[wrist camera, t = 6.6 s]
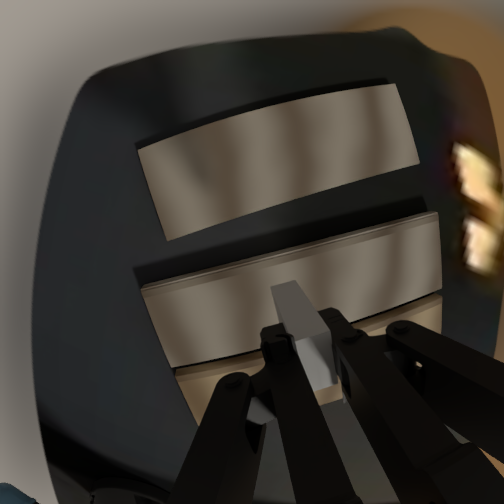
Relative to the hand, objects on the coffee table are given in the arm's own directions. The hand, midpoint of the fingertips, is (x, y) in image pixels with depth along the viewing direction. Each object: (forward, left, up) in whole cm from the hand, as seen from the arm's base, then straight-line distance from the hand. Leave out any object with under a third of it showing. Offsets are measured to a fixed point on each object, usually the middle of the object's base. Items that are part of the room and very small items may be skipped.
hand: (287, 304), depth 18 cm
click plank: (+3, -3, -9) cm, 10 cm away
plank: (+4, +9, -10) cm, 14 cm away
